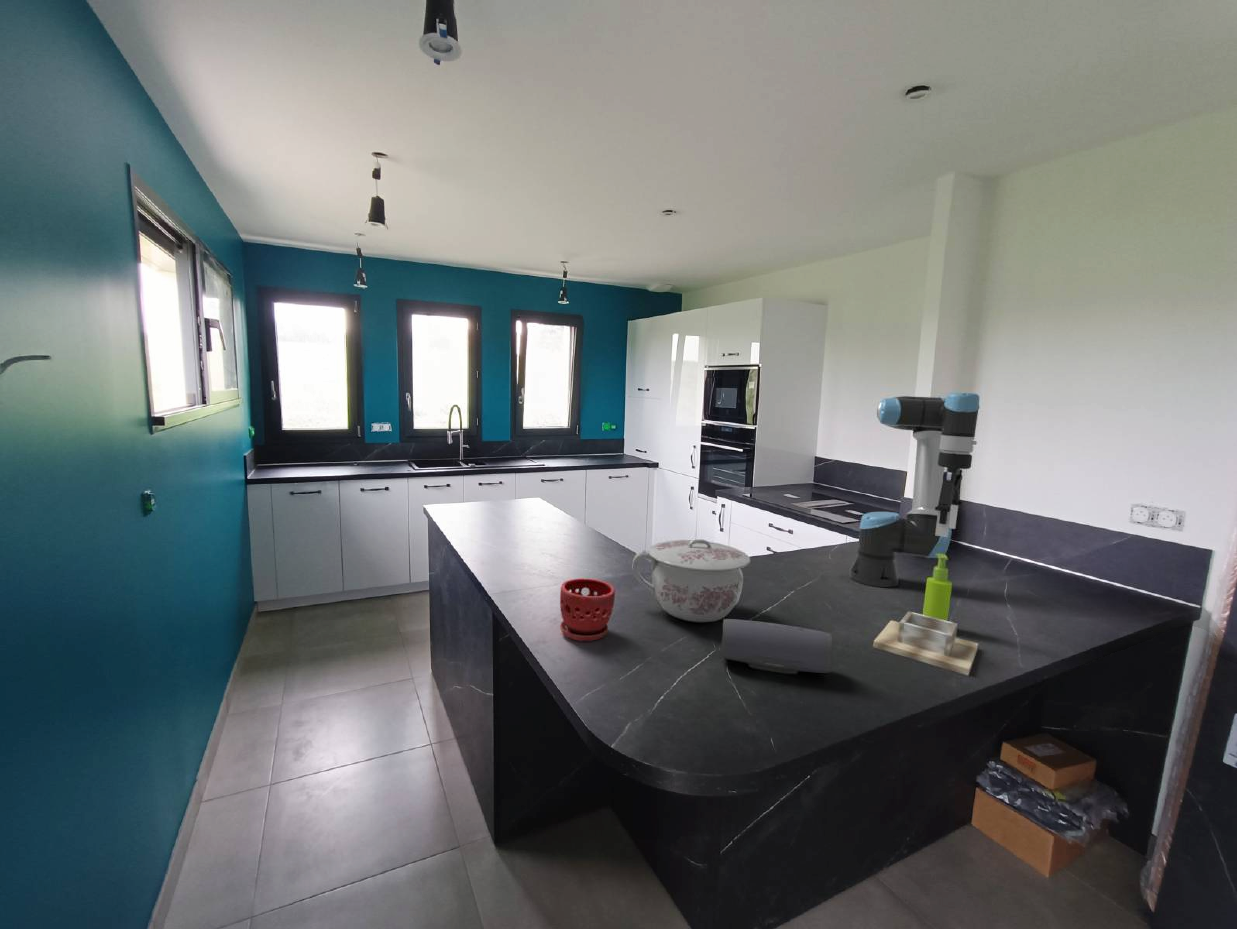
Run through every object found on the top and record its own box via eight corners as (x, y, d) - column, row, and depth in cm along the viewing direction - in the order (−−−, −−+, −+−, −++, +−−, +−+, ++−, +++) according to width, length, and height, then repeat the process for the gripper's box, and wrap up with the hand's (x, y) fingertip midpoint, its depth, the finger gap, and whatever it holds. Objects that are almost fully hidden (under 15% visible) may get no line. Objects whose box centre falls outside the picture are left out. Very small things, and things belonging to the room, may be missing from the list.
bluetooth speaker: (823, 666, 125) (828, 623, 123) (829, 686, 116) (834, 641, 114) (721, 651, 130) (724, 610, 128) (719, 669, 121) (722, 625, 119)
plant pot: (571, 649, 126) (573, 598, 125) (550, 626, 138) (552, 580, 136) (621, 640, 132) (624, 592, 131) (598, 619, 144) (600, 574, 142)
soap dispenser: (942, 623, 153) (951, 553, 151) (948, 633, 147) (958, 560, 144) (918, 620, 155) (927, 550, 152) (923, 629, 148) (932, 557, 146)
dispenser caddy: (872, 646, 136) (875, 621, 135) (890, 625, 150) (893, 602, 149) (968, 675, 124) (972, 647, 123) (977, 649, 138) (981, 624, 137)
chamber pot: (764, 615, 153) (771, 542, 150) (708, 644, 133) (714, 560, 130) (682, 587, 172) (686, 522, 169) (622, 609, 151) (626, 535, 149)
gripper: (966, 456, 133) (955, 542, 135) (977, 451, 152) (967, 527, 155) (930, 453, 137) (920, 536, 140) (946, 449, 157) (937, 522, 160)
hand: (945, 532), depth 147 cm, fingers open, 13 cm apart
